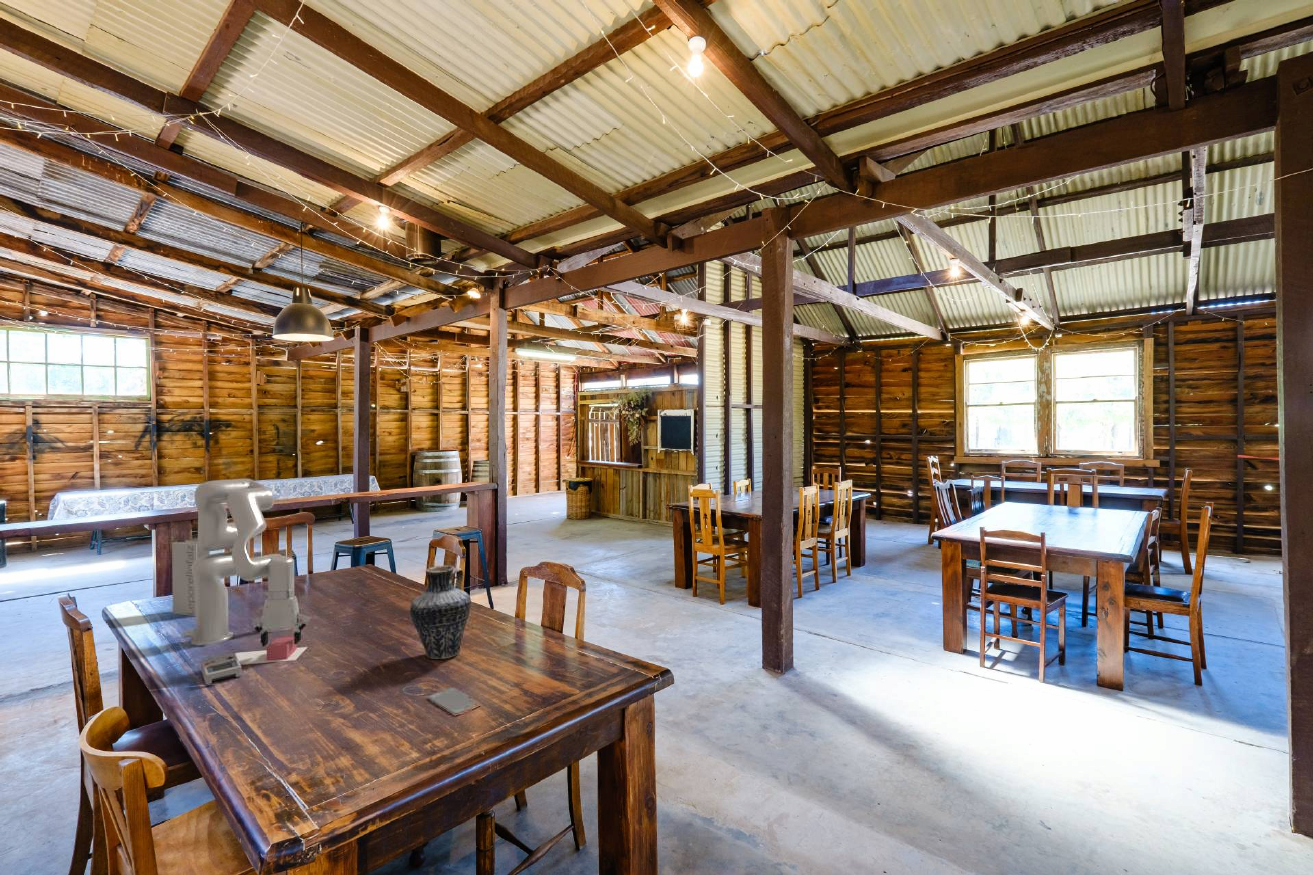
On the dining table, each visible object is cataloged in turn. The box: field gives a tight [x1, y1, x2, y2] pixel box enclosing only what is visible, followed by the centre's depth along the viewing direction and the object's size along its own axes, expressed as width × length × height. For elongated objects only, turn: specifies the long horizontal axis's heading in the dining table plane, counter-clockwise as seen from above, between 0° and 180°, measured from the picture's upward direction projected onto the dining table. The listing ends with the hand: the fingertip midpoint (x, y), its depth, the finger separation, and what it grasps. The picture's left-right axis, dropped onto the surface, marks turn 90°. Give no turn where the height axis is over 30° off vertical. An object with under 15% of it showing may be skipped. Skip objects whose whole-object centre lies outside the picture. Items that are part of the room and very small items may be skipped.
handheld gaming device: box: [200, 652, 243, 685], centre depth 183 cm, size 9×15×4 cm, turn 43°
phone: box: [427, 687, 475, 714], centre depth 164 cm, size 8×16×1 cm, turn 48°
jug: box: [409, 564, 472, 660], centre depth 199 cm, size 21×19×30 cm
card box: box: [266, 636, 298, 661], centre depth 198 cm, size 9×6×4 cm, turn 14°
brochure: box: [171, 540, 211, 617], centre depth 247 cm, size 14×6×30 cm, turn 73°
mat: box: [235, 646, 308, 666], centre depth 197 cm, size 22×12×1 cm, turn 104°
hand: (281, 643), depth 198 cm, fingers open, 9 cm apart
